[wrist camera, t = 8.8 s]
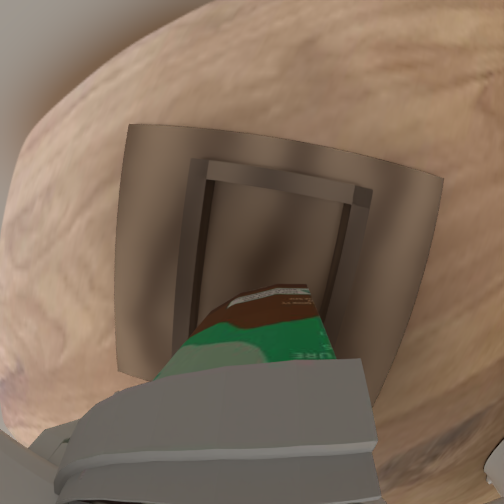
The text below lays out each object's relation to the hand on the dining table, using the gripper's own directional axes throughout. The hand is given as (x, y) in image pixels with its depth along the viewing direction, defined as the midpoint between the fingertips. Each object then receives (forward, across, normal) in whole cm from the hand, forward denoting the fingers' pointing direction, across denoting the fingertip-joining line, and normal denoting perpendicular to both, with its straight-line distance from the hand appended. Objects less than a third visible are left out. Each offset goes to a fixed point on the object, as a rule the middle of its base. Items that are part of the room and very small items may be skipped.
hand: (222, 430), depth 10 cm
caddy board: (+14, 0, -1) cm, 14 cm away
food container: (+4, +1, 0) cm, 4 cm away
